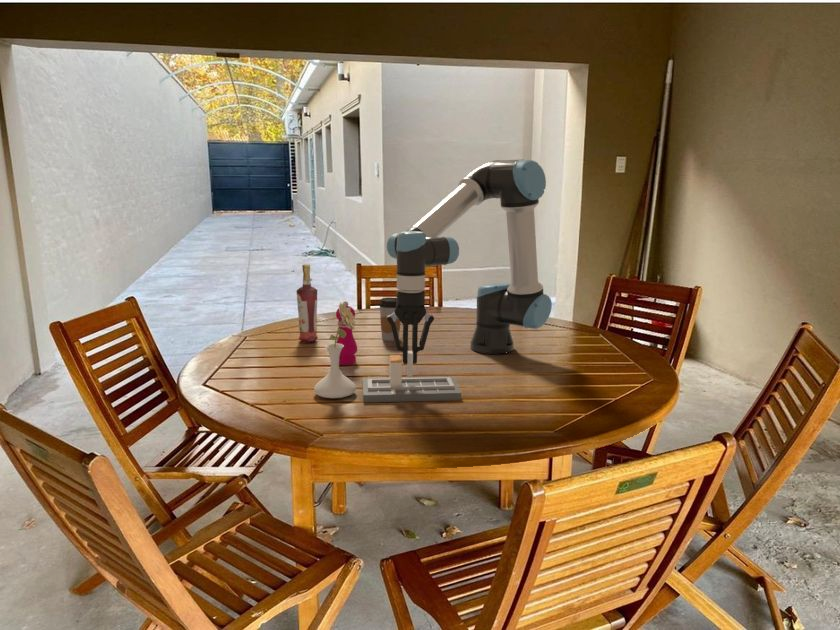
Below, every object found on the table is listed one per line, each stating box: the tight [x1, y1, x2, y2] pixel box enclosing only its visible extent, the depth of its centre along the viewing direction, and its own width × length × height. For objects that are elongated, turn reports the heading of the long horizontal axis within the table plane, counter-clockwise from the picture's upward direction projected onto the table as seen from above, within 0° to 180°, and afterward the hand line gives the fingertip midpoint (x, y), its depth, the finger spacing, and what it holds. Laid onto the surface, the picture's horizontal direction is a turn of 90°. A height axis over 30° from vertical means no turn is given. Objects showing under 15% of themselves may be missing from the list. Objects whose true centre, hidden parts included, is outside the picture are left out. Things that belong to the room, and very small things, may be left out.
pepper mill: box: [335, 300, 358, 366], centre depth 183 cm, size 7×7×20 cm
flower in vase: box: [313, 302, 357, 399], centre depth 154 cm, size 13×11×25 cm
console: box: [362, 375, 462, 403], centre depth 159 cm, size 26×14×3 cm, turn 96°
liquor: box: [296, 264, 319, 344], centre depth 206 cm, size 7×7×28 cm
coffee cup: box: [378, 297, 401, 342], centre depth 212 cm, size 8×8×15 cm
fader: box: [388, 354, 403, 386], centre depth 157 cm, size 3×5×8 cm, turn 6°
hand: (409, 374), depth 158 cm, fingers closed
